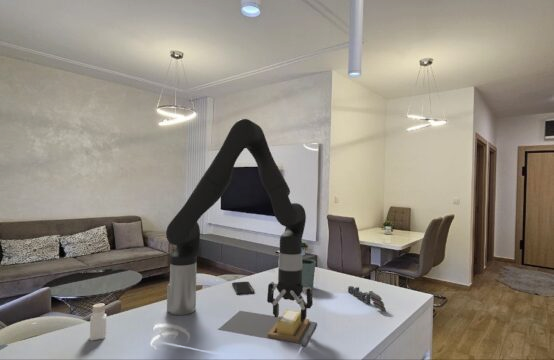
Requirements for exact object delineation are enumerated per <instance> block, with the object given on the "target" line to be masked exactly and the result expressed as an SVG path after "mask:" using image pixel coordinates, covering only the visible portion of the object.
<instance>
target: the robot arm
mask: <svg viewBox="0 0 554 360" xmlns="http://www.w3.org/2000/svg"><path fill="white" fill-rule="evenodd" d="M245 149H247V150H248V152H249V154H250V155H251V156H252V157H253V159H254V161H255V163H256V165H257V169H258V174H259V178H260V181H261V183H262V185H263V188H264V189H265V191H266V193H267V196H269V199H270V203H271V207H272V210H273V214H274V217H275V218H276V221H277V222H278V223H279V224H280V225H281V226H283V227H285V229H284V232H283V233H282V234H281V235H280V237H279V251H278V252H279V254H278V255H279V256H278V263H277V266H278V267H277V270H278V274H277V281H278V282H277V283H275V282H273V281H271V282H270V283H268V285H267V300H266V301H267V303H268V304H271V305H272V316H275V317H279V315H280V304H279V302H280V300H281V299H283V300H286V301H287V300H289V301H292V302H294V301H295V302H296V303H297V304H298V305H299V307H300V308H301V309H300V312H301V321H304V320H305V319H307V314H308V313H307V310H308V309H311V308H312V306H313V304H314V303H313V289H312V287H308V288H307V287H303V286H302V259H303V254H302V252H303V250H302V248H303V242H302V240H303V235H304V231H305V226H306V222H307V220H306V219H307V214H306V211H305V210H306V209H305V208H304V207H303V205H301V204H300V203H297V202H293V203H292V202H291V200H290V194H291V190H290V187H289V185H288V183H287V182H286V180H285V178H284V176H283V174H282V172H281V170H280V169H279V167H278V165H277V163H276V161H275V159H274V157H273V155H272V153H271V149H270V148H269V145H268V141H267V138H266V135H265V133H264V130H263V129H262V127H261V126H260V125H258V124H257V123H255V122H254V121H252V120H250V119H248V118H241V119H238V120H237V121H235V123H234V124H233V125H232V126H231V128H230V130H229V132H228V133H227V136H226V137H225V139H224V141H223V144H222V145H221V147H220V149H219V151H218V152H217V154H216V156H215V157H214V158H213V160H212V162H211V163H210V165H209V167H208V168H207V170H206V171H205V172H204V174H203V176H202V177H201V178H200V180H199V181H198V183H197V185H196V186H195V188H194V190H193V191H192V193H191V194H190V195H189V197H188V198H187V201H185V203H184V205H183V207H181V209H180V210H179V211H178V212H177V214H176V215H175V216H174V217H173V218H172V220H171V221H170V222H169V224H168V226H167V227H166V230H165V236H166V237H165V238H166V240H167V242H168V243H169V244H170V245H172V246H176V247H175V250H174V251H173V253H171V255H170V257H169V264H170V265H169V283H168V284H167V285H166V286H167V287H166V290H167V291H166V312H168V313H169V314H171V315H175V316H183V315H189V314H192V313H194V312H195V311H196V307H197V304H196V302H197V301H196V300H197V263H198V262H197V258H198V256H199V253H200V242H201V241H200V238H201V231H200V224H199V223H198V221H199V219H200V218H202V216H203V214H205V213H206V212H207V211H209V210H210V208H212V207H213V206H214V205H215V204H216V203H217V202H218V201H219V199H221V197H222V196H224V195H223V194H224V193H226V190H227V189H228V187H229V186H230V183H231V181H232V179H233V178H232V177H233V173H234V167H235V164H236V163H237V162H236V161H237V160H238V158H239V156H240V155H241V154H242V152H243V151H244V150H245ZM276 289H277V291H278V293H279V294H278V295H276V297H275V298H274V292H275V290H276ZM302 293H304V295H305V296H306V301H305V299H304V297H303V295H302Z"/></svg>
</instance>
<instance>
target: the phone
mask: <svg viewBox="0 0 554 360" xmlns="http://www.w3.org/2000/svg"><path fill="white" fill-rule="evenodd" d="M231 285H232V288H233V290H234V292H235V294H236V296H243V295H253V294H255V293H256V292H255V289H254V288H253V286H252V285H251V283H250V281H237V282H235V281H233V282H232V283H231Z"/></svg>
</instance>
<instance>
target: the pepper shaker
mask: <svg viewBox="0 0 554 360" xmlns="http://www.w3.org/2000/svg"><path fill="white" fill-rule="evenodd" d="M105 312H106V304H105V303H103V302H102V303H95V304H94V305H92V315H91V316H90V319H89V320H90V321H89V323H90V324H89V340H90V341H97V340H103V339H105V338H106V336H107V321H108V320H107V316H108V315H107V313H105Z"/></svg>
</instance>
